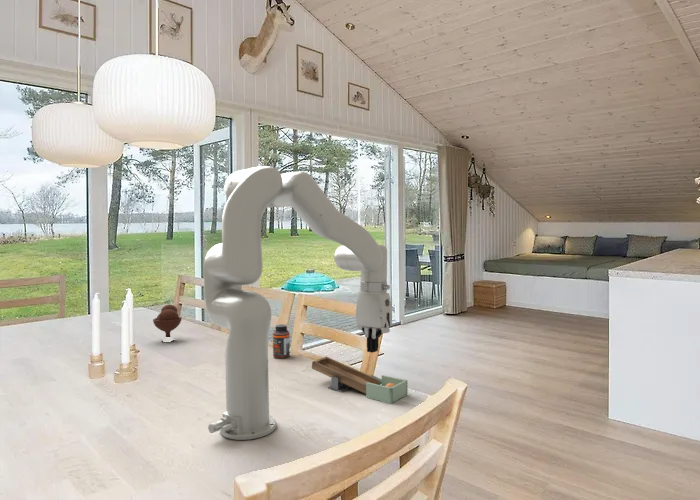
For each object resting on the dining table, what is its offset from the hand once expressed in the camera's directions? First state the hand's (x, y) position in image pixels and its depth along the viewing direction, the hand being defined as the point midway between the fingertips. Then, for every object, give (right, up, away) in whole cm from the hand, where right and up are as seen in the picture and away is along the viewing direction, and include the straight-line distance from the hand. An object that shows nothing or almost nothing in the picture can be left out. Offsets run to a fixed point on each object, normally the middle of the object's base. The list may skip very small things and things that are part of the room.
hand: (372, 351), depth 135 cm
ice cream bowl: (-82, -9, +59) cm, 101 cm away
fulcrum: (-8, -10, +1) cm, 13 cm away
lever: (-7, -8, +2) cm, 11 cm away
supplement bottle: (-31, -9, +34) cm, 47 cm away
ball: (+5, -9, -8) cm, 13 cm away
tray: (+4, -11, -8) cm, 13 cm away
